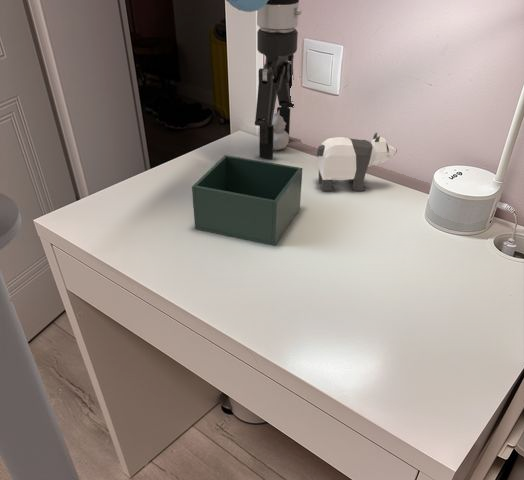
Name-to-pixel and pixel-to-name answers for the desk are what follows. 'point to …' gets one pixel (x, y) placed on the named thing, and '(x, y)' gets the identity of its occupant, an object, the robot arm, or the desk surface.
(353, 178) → the giant panda
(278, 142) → the grey toy figure
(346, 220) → the desk surface
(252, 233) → the bin
